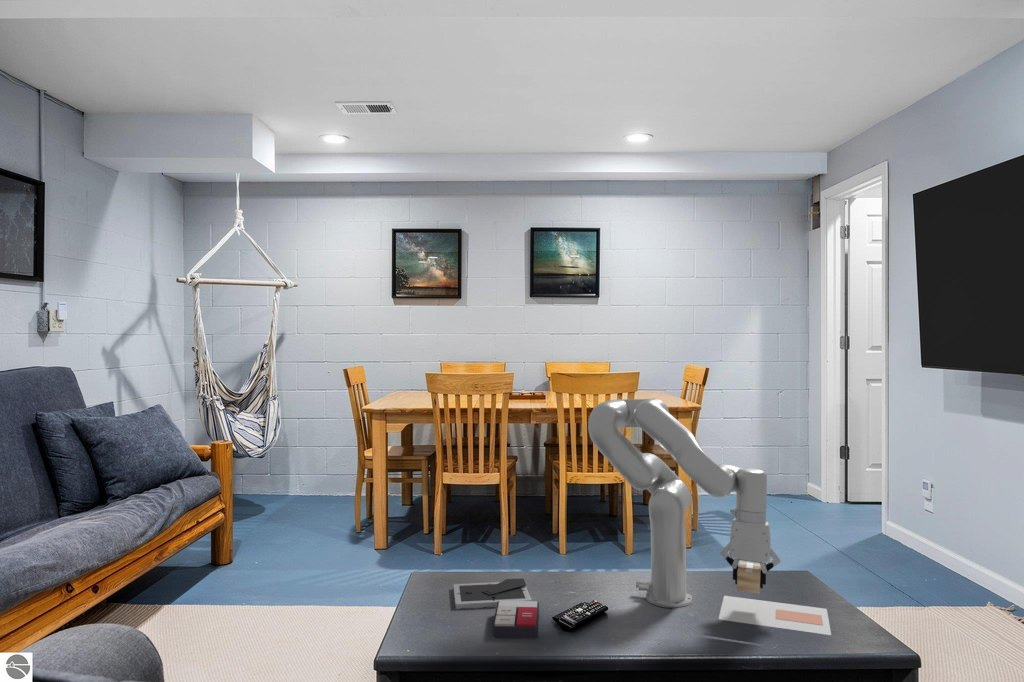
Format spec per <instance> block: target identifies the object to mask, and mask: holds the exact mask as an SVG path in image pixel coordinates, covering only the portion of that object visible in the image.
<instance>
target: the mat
mask: <svg viewBox="0 0 1024 682" xmlns="http://www.w3.org/2000/svg"><path fill="white" fill-rule="evenodd" d="M828 613H829V612H828V609H827V608H823V607H814V606H808V605H800V604H792V603H785V602H784V603H783V602H776V601H769V600H760V599H755V598H754V599H753V598H745V597H737V596H730V595H723V599H722V603H721V607H720V611H719V615H718V620H719V621H720V620H721V621H725V622H726V621H727V622H734V623H742V624H747V625H755V626H763V627H769V628H775V629H776V628H777V629H783V630H791V631H798V632H805V633H812V634H819V635H825V636H832V632H831V624H830V619H829V615H828Z"/></svg>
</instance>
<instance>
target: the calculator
mask: <svg viewBox="0 0 1024 682" xmlns="http://www.w3.org/2000/svg"><path fill="white" fill-rule="evenodd" d="M539 622H540V602H539V601H537V600H536V601H535V600H534V601H533V600H532V601H498V602H497V607H495V613H494V617H493V623H492V638H493V637H496V638H495V639H501V638H502V639H532V640H533V639H534V640H535V639H539V626H540V623H539Z"/></svg>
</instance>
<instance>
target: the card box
mask: <svg viewBox="0 0 1024 682" xmlns="http://www.w3.org/2000/svg"><path fill="white" fill-rule="evenodd" d="M760 573H761V566H760V563H757V562H750V561H743V560H739V563H738V571H737V585H736V591H737V592H738V591H740V592H744V593H751V594H752V593H753V594H758V595H759V594H760V593H761V592H760V591H761V588H760Z"/></svg>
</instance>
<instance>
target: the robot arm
mask: <svg viewBox="0 0 1024 682" xmlns="http://www.w3.org/2000/svg"><path fill="white" fill-rule="evenodd" d="M587 424H588V426H587V429H588V435H589V438H590V440H591V442H592V443H593V445H594V446H595V448H596V449H597V451H599V452H600V453H601V454H602V456H603V457H604V458H605V459H606V460H607V461H608V462H609V464H611V465H612V467H613V468H614V469H615V470H616V472H618V473H619V475H620V476H622V478H623V479H624V480H625V481H626V482H627V483H628V484H629V485H630V487H632V488H633V489H635V490H637V491H645V490H647V491H648V492H649V493H650V497H649V501H648V515H649V523H650V525H649V526H650V527H649V528H650V571H651V572H650V578H651V580H647V581H643V580H636V582H635V587H636V588H638V591H646V592H645V599H646V601H647V602H648V603H649V604H651V605H654V606H656V607H660V608H661V607H662V608H668V609H673V608H682V607H687V606H689V605H691V604H692V603H693V596H692V595H691V594H690V593H688V591H687V533H686V532H687V531H686V522H685V521H686V520H685V514H686V513H685V512H686V510H687V509H689V507H690V504H691V502H692V499H691V498H692V497H691V491H690V489H689V488H688V486H687V485H686V484H685V482H684V481H682V480H681V478H680V477H679V476H678V475H677V474H676V472H674V471H673V470H672V469H671V468H670V467H669V465H667V464H666V462H664V461H663V460H662V458H660V457H659V456H657V455H656V454H654V453H650V452H641V451H640V450H639V449H638V448H637V447H636V446H635V445H634V443H632V441H631V440H629V439H628V438H627V437H626V436H625V435H624V434H622V433H621V432H620V429H619V428H640V429H641V430H642V431H643V432H644V433H645V434H647V435H648V436H649V437H650V438H651V439H652V440H653V441H655V442H656V443H657V444H658V445H659V446H660V447H661V448H663V450H664V451H666V452H667V453H668V454H669V455H671V458H672V459H673V461H675V462H676V463H677V465H678V466H679V467H680V468H681V469H682V470H683V472H684V473H685V475H687V476H688V477H689V478H690V480H692V481H693V482H695V484H697V485H698V486H699V487H700V489H702V490H703V491H704V492H706V493H707V494H708V495H710V496H712V497H714V498H717V499H718V498H719V499H720V498H725V497H727V496H729V495H730V494H731V493H732V492H735V493H736V495H735V496H736V499H735V500H736V501H735V508H734V509H730V510H729V513H730V515H732V516H734V518H733V519H732V523H731V525H730V536H729V543H728V544H726V545H725V546H724V547H723V548H722V549H721V550H720V551H719V554H720V555H721V556H722V557H723V559H724V560H726V562H727V563H728V564H729V565H730V567H731V568H732V580H733V581H735V582H734V583H735V585H736V586H737V571H738V566H739V562H740V561H743V562H749V563H756V564H760V566H761V573H760V589H763V588H764V586H766V583H767V574H768V572H769V571H770V570H772V569H773V568H774V567H775V566H777V565H779V564H781V558H780V557H779V556H778V555H777V553H776V552H775V551H774V550H773V549H772V547H771V545H772V544H771V541H772V540H771V539H772V538H771V530H770V524H769V522H768V521H767V494H768V474H767V473H766V471H764V470H762V469H758V468H751V467H748V468H747V467H746V468H743V467H738V466H734V465H730V464H725V463H721V464H717V463H715V461H714V460H712V459H711V458H710V457H709V456H708V455H707V454H706V453H705V452H704V451H703V450H702V448H701V447H700V445H699V444H698V441H697V440H696V437H695V435H694V434H693V433H692V431H691V430H689V428H687V427H686V426H685V425H684V424H682V423H681V422H680V421H679V420H678V419H677V418H676V417H674V416H673V415H672V414H671V413H670V410H669V408H668V406H667V404H666V403H665V402H664V401H662V400H661V399H658V398H632V399H628V398H625V399H621V398H620V399H611V400H606V401H603V402H600V403H598V404H597V405H596V406H595V407H594V408H593V409H592V411H591V413H590V415H589V418H588V423H587ZM728 552H729V554H728ZM771 559H772V560H771Z"/></svg>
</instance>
